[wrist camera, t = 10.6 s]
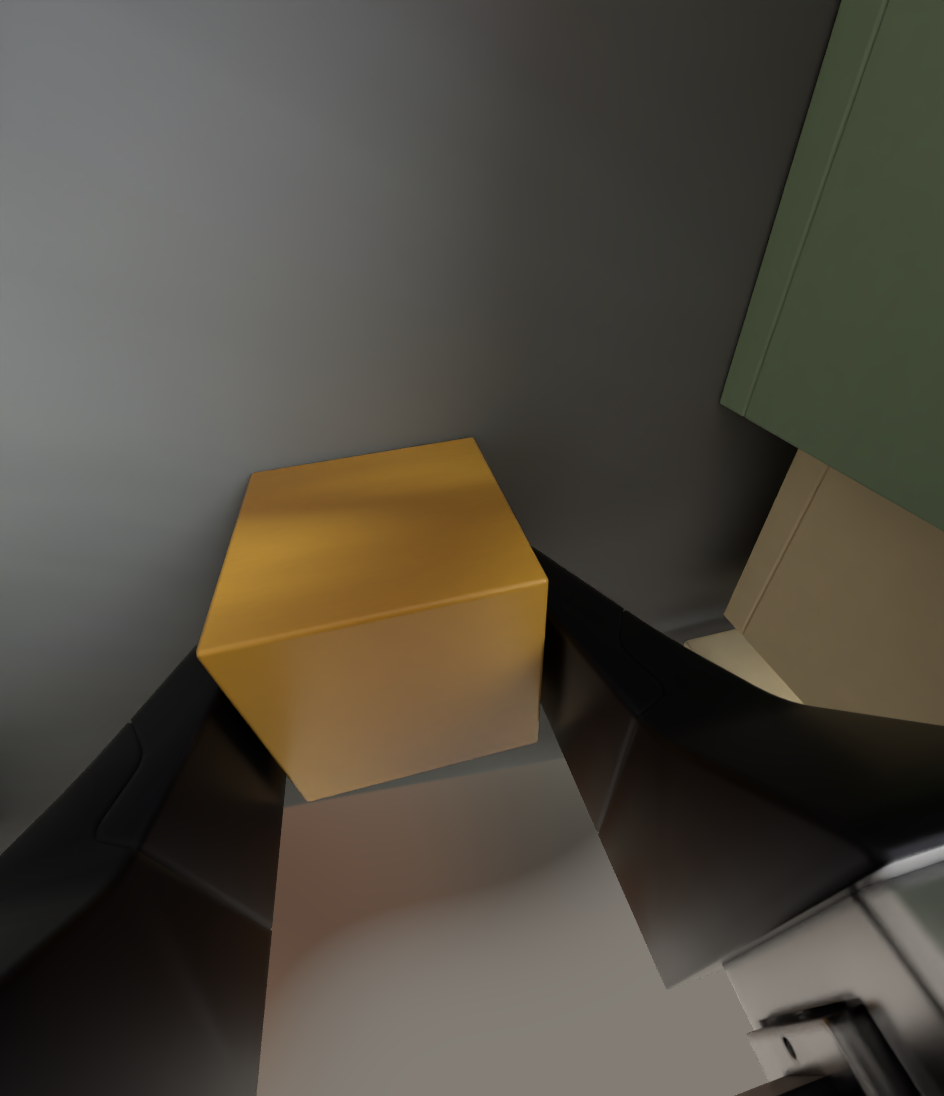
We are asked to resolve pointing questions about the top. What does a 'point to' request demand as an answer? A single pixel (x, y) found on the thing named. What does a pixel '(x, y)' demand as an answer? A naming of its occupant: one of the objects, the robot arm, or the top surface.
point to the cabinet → (860, 266)
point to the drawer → (839, 602)
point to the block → (379, 617)
